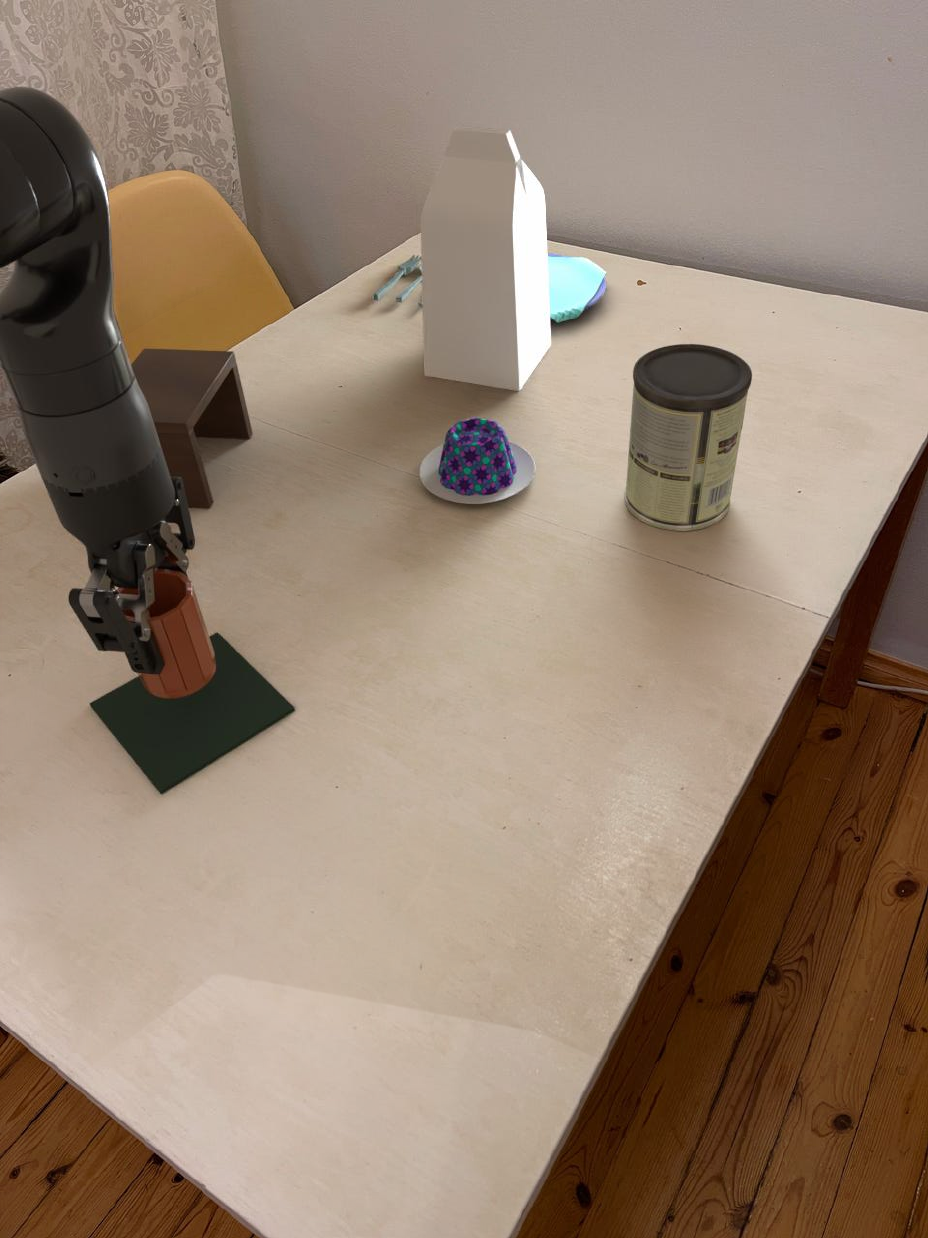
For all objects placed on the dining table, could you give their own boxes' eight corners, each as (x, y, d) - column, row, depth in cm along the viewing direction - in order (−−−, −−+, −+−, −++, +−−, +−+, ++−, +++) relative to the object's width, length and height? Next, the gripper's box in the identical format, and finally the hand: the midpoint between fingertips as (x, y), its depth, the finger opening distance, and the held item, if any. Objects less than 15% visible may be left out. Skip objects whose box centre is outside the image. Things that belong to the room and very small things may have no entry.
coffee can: (641, 461, 100) (652, 335, 90) (740, 482, 97) (764, 353, 87) (608, 518, 93) (617, 388, 84) (714, 542, 90) (736, 410, 80)
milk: (424, 375, 115) (405, 143, 97) (461, 331, 123) (449, 108, 105) (519, 391, 111) (517, 152, 93) (551, 344, 119) (554, 116, 101)
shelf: (210, 509, 97) (185, 423, 91) (117, 503, 99) (86, 419, 92) (252, 433, 107) (234, 351, 101) (168, 429, 109) (144, 347, 102)
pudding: (434, 438, 105) (430, 396, 101) (543, 446, 103) (544, 403, 99) (407, 504, 96) (402, 460, 93) (525, 514, 94) (525, 470, 91)
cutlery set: (582, 341, 119) (583, 324, 118) (363, 311, 128) (361, 294, 126) (622, 274, 132) (623, 258, 131) (422, 251, 141) (420, 235, 140)
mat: (161, 795, 72) (159, 791, 71) (90, 706, 78) (89, 703, 78) (295, 710, 77) (294, 707, 77) (218, 635, 84) (217, 631, 84)
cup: (164, 710, 72) (134, 634, 66) (129, 670, 75) (97, 594, 70) (230, 672, 75) (206, 595, 69) (193, 635, 78) (168, 558, 72)
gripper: (91, 389, 67) (156, 574, 78) (-14, 515, 56) (78, 707, 68) (194, 393, 65) (244, 580, 77) (106, 523, 55) (179, 716, 67)
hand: (166, 638), depth 72 cm, fingers closed on cup, 6 cm apart
